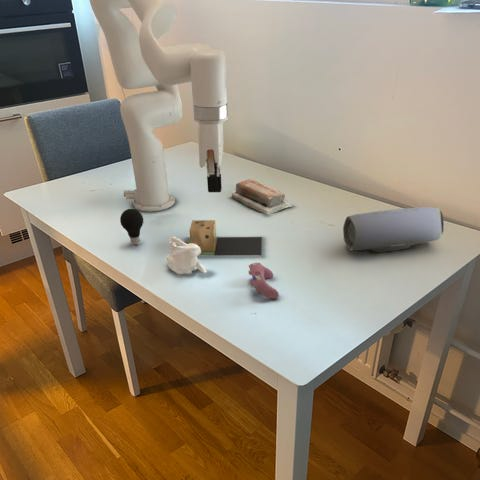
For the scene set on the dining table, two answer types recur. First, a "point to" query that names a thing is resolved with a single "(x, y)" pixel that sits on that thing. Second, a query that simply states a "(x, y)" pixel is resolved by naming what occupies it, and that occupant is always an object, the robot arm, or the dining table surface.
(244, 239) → the dice mat
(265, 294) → the video game controller
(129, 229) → the light bulb
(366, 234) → the bluetooth speaker
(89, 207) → the dining table surface
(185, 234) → the dining table surface
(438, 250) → the dining table surface
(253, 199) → the packaged product
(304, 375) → the dining table surface
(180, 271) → the rabbit figurine
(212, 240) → the die
